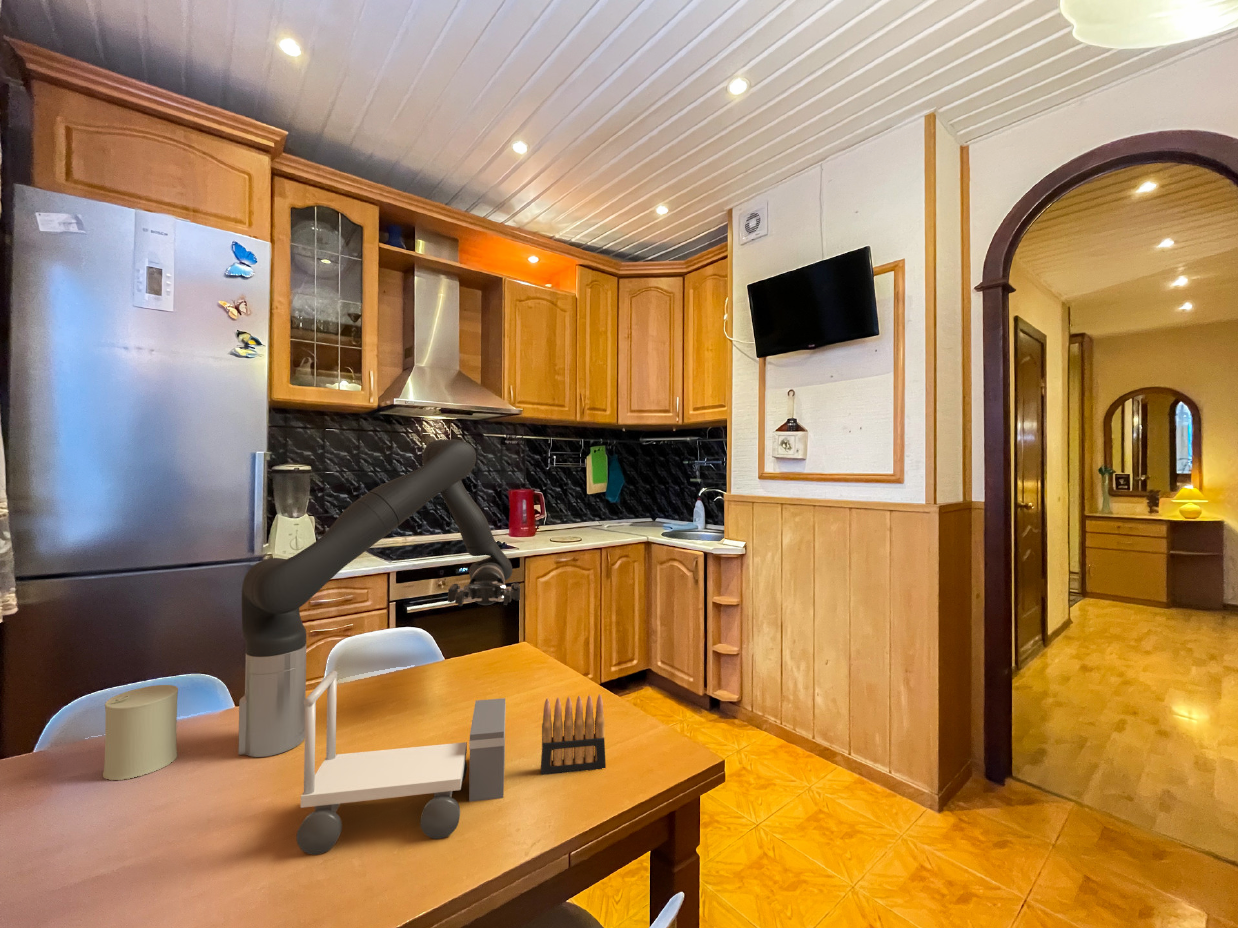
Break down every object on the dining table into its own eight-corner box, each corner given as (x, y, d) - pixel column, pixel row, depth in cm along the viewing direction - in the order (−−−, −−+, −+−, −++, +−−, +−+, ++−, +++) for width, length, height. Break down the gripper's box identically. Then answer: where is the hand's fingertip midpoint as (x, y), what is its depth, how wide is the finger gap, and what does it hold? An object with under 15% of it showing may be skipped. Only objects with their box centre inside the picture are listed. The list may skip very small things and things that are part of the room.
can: (101, 765, 87) (102, 692, 87) (173, 744, 94) (174, 677, 94) (104, 788, 81) (106, 710, 81) (181, 764, 88) (182, 692, 88)
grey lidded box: (468, 802, 78) (469, 734, 78) (474, 758, 90) (475, 700, 90) (503, 798, 79) (504, 731, 79) (505, 755, 91) (505, 697, 91)
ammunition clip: (604, 762, 89) (604, 691, 89) (605, 768, 87) (606, 696, 87) (540, 768, 87) (541, 696, 87) (541, 775, 85) (541, 700, 85)
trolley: (296, 856, 67) (298, 702, 67) (329, 797, 79) (331, 667, 79) (459, 836, 71) (460, 690, 71) (467, 782, 83) (468, 658, 83)
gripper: (454, 567, 116) (445, 581, 100) (520, 566, 118) (520, 579, 103) (453, 601, 115) (444, 620, 99) (519, 599, 118) (519, 618, 102)
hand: (483, 600), depth 101 cm, fingers open, 8 cm apart
